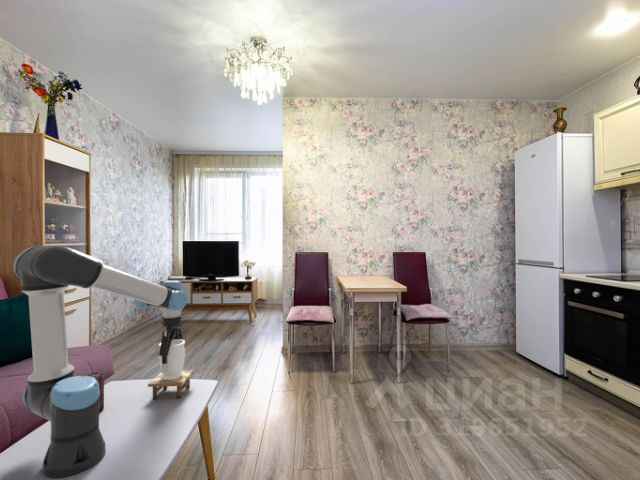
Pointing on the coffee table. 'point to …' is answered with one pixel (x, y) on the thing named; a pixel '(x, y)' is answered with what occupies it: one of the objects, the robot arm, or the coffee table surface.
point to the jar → (174, 360)
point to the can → (100, 379)
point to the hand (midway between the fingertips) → (171, 364)
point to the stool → (171, 383)
